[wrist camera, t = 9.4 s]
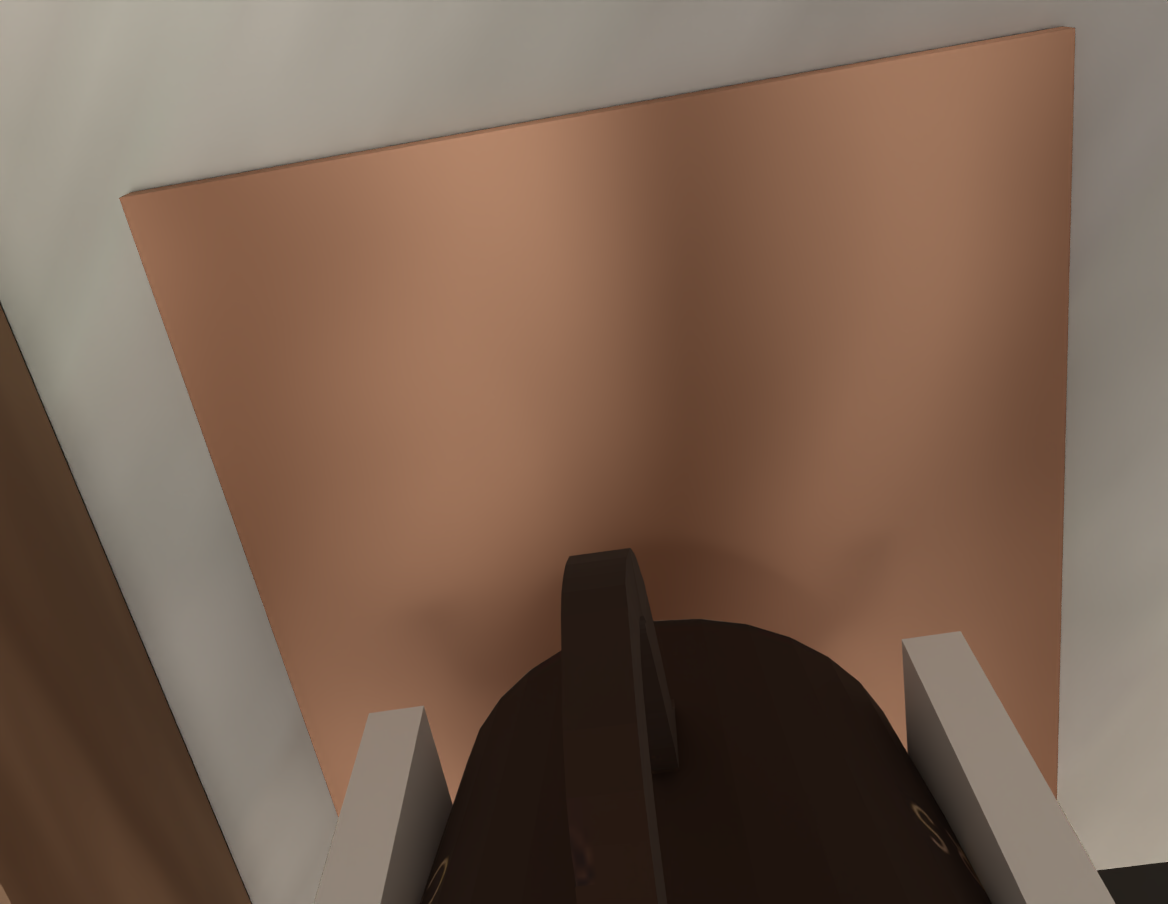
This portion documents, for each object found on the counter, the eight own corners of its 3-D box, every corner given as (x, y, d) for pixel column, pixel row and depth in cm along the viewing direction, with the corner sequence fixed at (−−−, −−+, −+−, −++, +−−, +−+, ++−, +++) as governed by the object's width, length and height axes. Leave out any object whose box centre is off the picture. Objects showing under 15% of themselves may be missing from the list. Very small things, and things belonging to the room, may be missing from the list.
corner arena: (1948, -516, 12) (2831, -831, 7) (1515, 978, 21) (1764, 1250, 17) (-308, -56, 14) (-759, -70, 9) (249, 1114, 23) (167, 1390, 19)
